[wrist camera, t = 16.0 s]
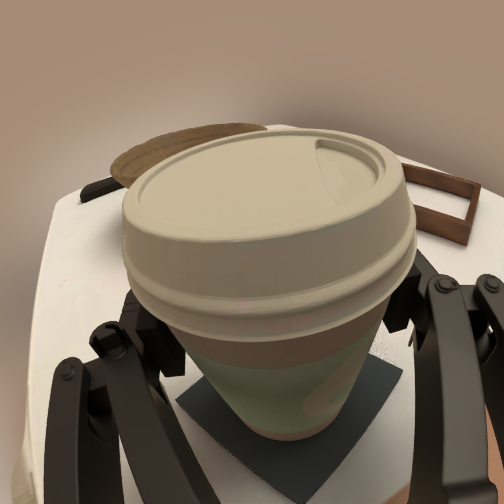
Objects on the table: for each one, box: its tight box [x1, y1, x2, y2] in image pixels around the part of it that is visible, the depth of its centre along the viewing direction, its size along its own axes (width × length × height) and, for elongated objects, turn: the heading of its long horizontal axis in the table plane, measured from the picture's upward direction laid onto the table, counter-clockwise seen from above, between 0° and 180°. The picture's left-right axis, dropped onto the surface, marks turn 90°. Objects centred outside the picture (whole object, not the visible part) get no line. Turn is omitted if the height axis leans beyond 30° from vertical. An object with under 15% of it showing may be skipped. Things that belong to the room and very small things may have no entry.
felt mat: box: [176, 353, 403, 504], centre depth 15 cm, size 9×9×1 cm
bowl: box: [110, 123, 268, 189], centre depth 34 cm, size 18×18×8 cm
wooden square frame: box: [400, 162, 481, 246], centre depth 28 cm, size 11×11×2 cm
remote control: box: [80, 177, 124, 202], centre depth 49 cm, size 5×2×15 cm
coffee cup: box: [122, 128, 417, 441], centre depth 11 cm, size 8×9×12 cm
